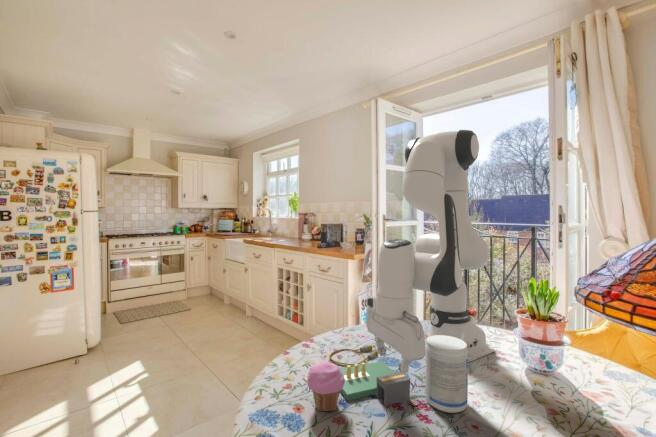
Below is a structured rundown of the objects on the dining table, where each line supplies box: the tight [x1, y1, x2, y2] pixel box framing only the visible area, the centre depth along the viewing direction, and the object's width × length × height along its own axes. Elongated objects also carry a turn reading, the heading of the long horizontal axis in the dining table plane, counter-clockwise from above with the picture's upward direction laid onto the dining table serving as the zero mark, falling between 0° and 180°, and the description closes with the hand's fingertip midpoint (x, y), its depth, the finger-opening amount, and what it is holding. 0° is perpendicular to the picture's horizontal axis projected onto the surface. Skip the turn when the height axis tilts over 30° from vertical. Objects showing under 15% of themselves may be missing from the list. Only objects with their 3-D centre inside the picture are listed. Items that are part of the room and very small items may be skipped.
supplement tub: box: [424, 335, 469, 414], centre depth 76 cm, size 10×10×15 cm
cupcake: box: [306, 361, 345, 412], centre depth 74 cm, size 9×9×10 cm
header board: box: [340, 360, 396, 402], centre depth 85 cm, size 17×12×4 cm
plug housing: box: [375, 371, 411, 406], centre depth 78 cm, size 7×4×5 cm, turn 112°
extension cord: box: [329, 344, 379, 367], centre depth 100 cm, size 12×16×2 cm
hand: (391, 362), depth 77 cm, fingers open, 8 cm apart
